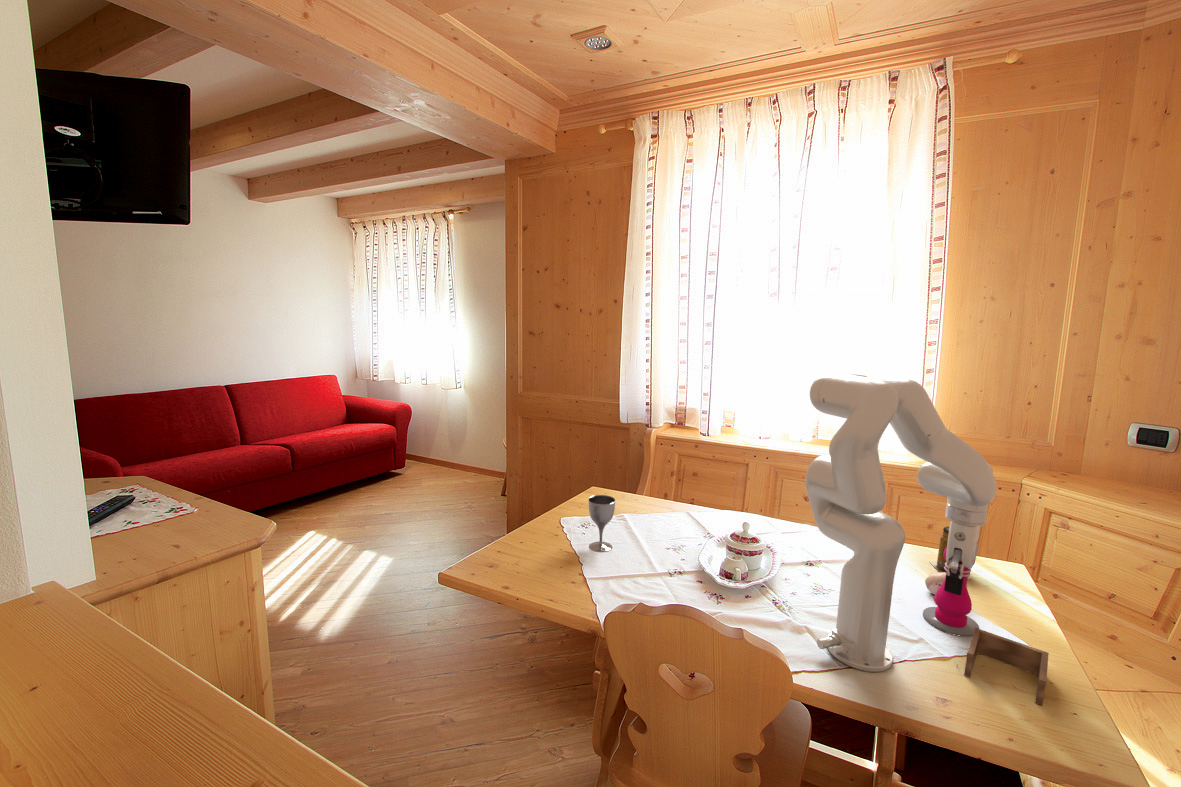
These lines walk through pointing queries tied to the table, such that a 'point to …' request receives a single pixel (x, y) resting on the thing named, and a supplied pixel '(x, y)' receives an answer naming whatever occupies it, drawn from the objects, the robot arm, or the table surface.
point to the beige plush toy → (935, 581)
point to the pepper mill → (953, 602)
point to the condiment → (942, 552)
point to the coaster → (963, 631)
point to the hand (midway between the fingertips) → (955, 585)
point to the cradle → (1009, 657)
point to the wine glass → (601, 518)
